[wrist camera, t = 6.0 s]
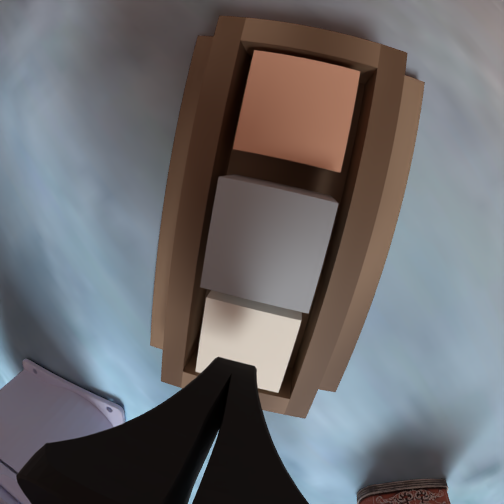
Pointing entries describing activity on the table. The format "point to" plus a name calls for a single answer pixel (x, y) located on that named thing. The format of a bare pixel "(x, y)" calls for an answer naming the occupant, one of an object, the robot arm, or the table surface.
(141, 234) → the table surface
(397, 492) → the lighter
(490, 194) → the table surface
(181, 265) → the keypad board
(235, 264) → the key slate
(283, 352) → the key cream
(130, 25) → the table surface
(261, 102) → the key terracotta
